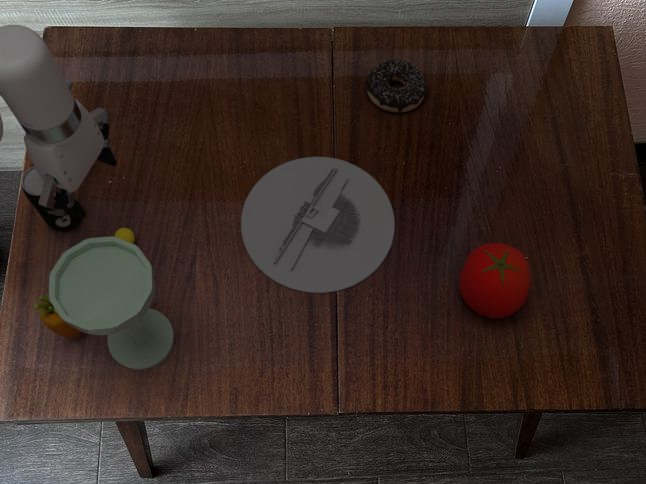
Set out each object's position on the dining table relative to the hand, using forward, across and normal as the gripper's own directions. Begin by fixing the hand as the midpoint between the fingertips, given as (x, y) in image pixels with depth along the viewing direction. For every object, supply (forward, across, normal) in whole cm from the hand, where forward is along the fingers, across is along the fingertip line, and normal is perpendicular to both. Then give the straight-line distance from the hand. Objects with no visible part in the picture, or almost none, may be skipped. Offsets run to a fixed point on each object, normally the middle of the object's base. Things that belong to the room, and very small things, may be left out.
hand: (92, 187), depth 106 cm
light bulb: (+20, 0, 0) cm, 20 cm away
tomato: (+20, -16, +62) cm, 68 cm away
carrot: (+19, +18, 0) cm, 27 cm away
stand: (+19, +15, +11) cm, 26 cm away
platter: (-2, +15, +11) cm, 18 cm away
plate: (+20, -18, +30) cm, 40 cm away
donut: (+20, -51, +32) cm, 63 cm away
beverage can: (+19, -1, -13) cm, 23 cm away
